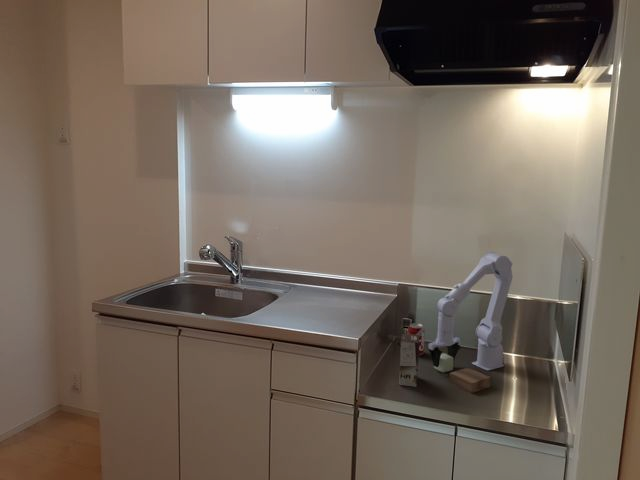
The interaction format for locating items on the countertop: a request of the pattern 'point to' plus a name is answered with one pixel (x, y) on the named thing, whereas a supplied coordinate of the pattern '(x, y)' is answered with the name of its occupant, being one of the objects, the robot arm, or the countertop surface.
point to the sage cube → (445, 363)
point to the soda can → (420, 331)
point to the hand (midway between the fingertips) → (443, 364)
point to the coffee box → (409, 360)
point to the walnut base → (469, 380)
